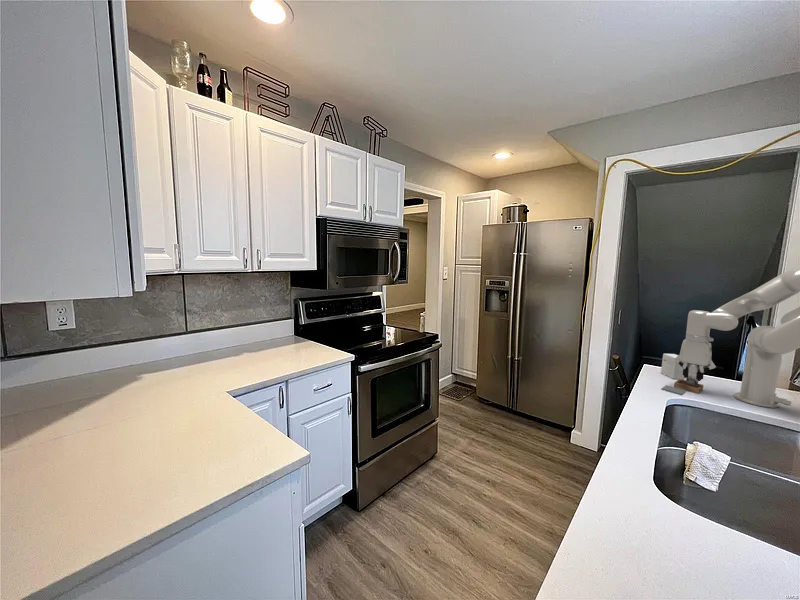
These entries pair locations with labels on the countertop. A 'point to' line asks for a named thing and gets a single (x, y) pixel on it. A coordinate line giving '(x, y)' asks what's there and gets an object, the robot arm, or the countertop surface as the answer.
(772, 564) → the countertop surface
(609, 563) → the countertop surface
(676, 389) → the pad
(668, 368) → the small box
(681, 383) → the frame
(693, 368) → the peg
